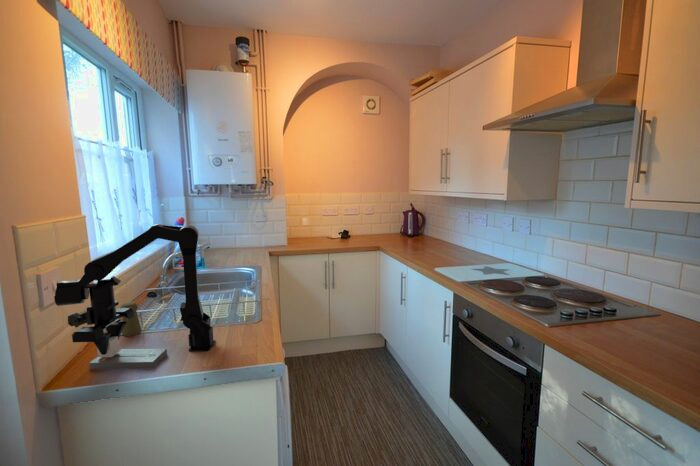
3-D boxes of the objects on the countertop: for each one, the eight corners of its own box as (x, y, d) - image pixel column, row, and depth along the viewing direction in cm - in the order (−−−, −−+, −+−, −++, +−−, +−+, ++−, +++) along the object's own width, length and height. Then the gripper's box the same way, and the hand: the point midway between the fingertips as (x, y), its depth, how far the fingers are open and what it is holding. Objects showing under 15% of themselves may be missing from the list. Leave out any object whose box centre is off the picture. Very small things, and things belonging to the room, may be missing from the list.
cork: (137, 327, 129) (134, 298, 127) (144, 331, 125) (141, 302, 123) (119, 332, 124) (115, 303, 123) (125, 337, 121) (122, 307, 119)
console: (167, 354, 108) (166, 348, 108) (153, 368, 100) (152, 361, 100) (108, 355, 108) (107, 349, 108) (90, 369, 100) (89, 362, 100)
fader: (119, 351, 105) (117, 336, 105) (112, 357, 102) (110, 341, 101) (106, 351, 105) (104, 336, 105) (98, 357, 102) (96, 341, 101)
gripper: (97, 291, 110) (102, 337, 113) (47, 313, 92) (55, 368, 94) (132, 290, 111) (137, 336, 113) (90, 312, 92) (97, 367, 94)
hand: (108, 351), depth 104 cm, fingers open, 4 cm apart
